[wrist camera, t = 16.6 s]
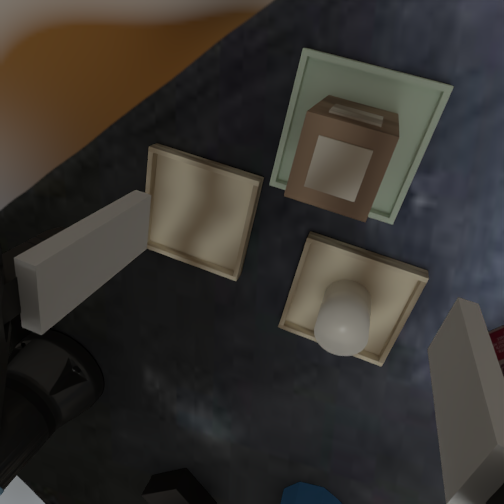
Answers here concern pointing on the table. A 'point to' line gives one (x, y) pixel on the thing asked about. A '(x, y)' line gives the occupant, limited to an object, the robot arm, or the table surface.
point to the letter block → (342, 156)
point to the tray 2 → (372, 94)
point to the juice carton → (498, 345)
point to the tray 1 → (200, 210)
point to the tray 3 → (364, 272)
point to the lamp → (176, 489)
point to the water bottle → (307, 495)
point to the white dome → (344, 318)
